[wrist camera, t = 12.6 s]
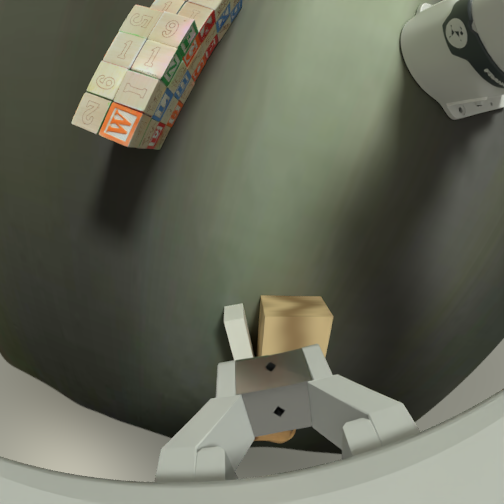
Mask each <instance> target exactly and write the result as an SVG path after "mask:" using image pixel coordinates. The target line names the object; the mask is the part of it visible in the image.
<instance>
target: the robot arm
mask: <svg viewBox="0 0 504 504" xmlns="http://www.w3.org/2000/svg"><path fill="white" fill-rule="evenodd" d="M401 49H402V54H403V57H404V60H405V63H406V65H407V67H408V69H409V71H410V73H411V75H412V76H413V78H414V79H415V80H416V82H417V83H418V84H419V86H420V87H421V88H422V89H423V90H424V91H425V92H426V93H427V94H429V95H430V96H431V97H432V98H434V99H435V100H436V101H437V102H439V103H440V105H441V106H442V108H443V109H444V111H445V112H446V114H447V115H448V116H449V117H450V118H451V119H452V120H457V119H461V118H464V117H468V116H472V115H475V114H479V113H483V112H487V111H491V110H495V109H499V108H503V107H504V0H443V1H441V2H439V3H437V4H435V5H433V6H432V5H430V4H427V3H423V4H421V5H419V7H418V9H417V12H416V15H415V16H414V17H413V18H411V19H410V20H409V21H407V23H406V24H405V25H404V27H403V29H402V33H401ZM459 110H460V112H459ZM310 426H312V427H313V428H314V429H315V430H317V431H318V432H319V433H320V434H322V435H323V436H324V437H326V438H327V439H328V440H330V441H331V442H332V443H333V444H335V445H336V446H337V447H339V448H340V449H341V450H342V460H338V461H334V462H330V463H327V464H322V465H318V466H314V467H310V468H305V469H301V470H295V471H290V472H284V473H279V474H273V475H266V476H260V477H252V478H244V479H238V477H237V475H236V473H235V470H236V469H237V467H238V466H239V464H240V462H241V461H242V459H243V457H244V456H245V454H246V452H247V451H248V449H249V447H250V446H251V444H252V442H253V441H254V439H255V438H254V437H258V436H263V435H269V434H274V433H278V432H283V431H289V430H295V429H300V428H305V427H310ZM0 504H504V389H502V390H501V391H499V392H498V393H496V394H495V395H493V396H491V397H489V398H488V399H486V400H484V401H482V402H481V403H479V404H477V405H475V406H473V407H472V408H470V409H468V410H466V411H464V412H462V413H460V414H458V415H457V416H454V417H453V418H451V419H448V420H446V421H444V422H442V423H440V424H438V425H436V426H433V427H431V428H429V429H427V430H424V431H422V432H420V431H419V429H418V427H417V426H416V424H415V422H414V421H413V419H412V417H411V416H410V414H409V413H408V411H407V409H406V408H405V406H404V405H403V403H401V402H399V401H396V400H394V399H391V398H389V397H387V396H385V395H382V394H380V393H378V392H375V391H373V390H371V389H369V388H366V387H364V386H362V385H360V384H357V383H355V382H353V381H351V380H349V379H347V378H344V377H342V376H340V375H338V374H337V375H332V372H331V370H330V368H329V366H328V364H327V361H326V359H325V357H324V355H323V352H322V350H321V348H320V346H319V345H318V344H314V345H310V346H306V347H302V348H300V349H295V350H291V351H286V352H282V353H277V354H272V355H265V356H259V357H253V358H246V359H240V360H236V361H235V360H233V361H227V362H220V363H219V364H218V366H217V383H216V398H212V399H210V400H209V401H208V402H207V403H206V404H205V405H204V406H203V407H202V408H201V409H200V410H199V411H198V412H197V413H196V414H195V416H194V417H193V418H192V419H191V420H190V421H189V422H188V423H187V424H186V425H185V426H184V427H183V428H182V429H181V430H180V431H179V432H178V433H177V434H176V435H175V436H174V437H173V438H172V439H171V440H170V441H168V442H167V443H166V445H164V446H163V448H161V452H160V457H159V462H158V467H157V472H156V478H155V482H136V481H121V480H111V479H102V478H94V477H87V476H80V475H74V474H69V473H63V472H58V471H53V470H48V469H44V468H40V467H36V466H32V465H28V464H24V463H20V462H17V461H13V460H10V459H7V458H3V457H0Z"/></svg>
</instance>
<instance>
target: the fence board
mask: <svg viewBox="0 0 504 504" xmlns="http://www.w3.org/2000/svg"><path fill="white" fill-rule="evenodd" d="M224 324H225V328H226V332H227V336H228V340H229V343H230V347H231V351H232V354H233V358H234V360H235V361H236V360H240V359H246V358H253V357H255V355H254V351H253V347H252V342H251V338H250V333H249V329H248V325H247V320H246V316H245V311H244V307H243V303H241V304H236V305H231V306H225V307H224Z"/></svg>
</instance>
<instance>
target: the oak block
mask: <svg viewBox="0 0 504 504" xmlns="http://www.w3.org/2000/svg"><path fill="white" fill-rule="evenodd" d="M332 321H333V315H332V314H331V312H330V310H329V309H328V307H327V306H326V304H325V302H324V301H323V299H322V297H321V296H262V295H261V300H260V313H259V326H258V339H257V352H256V357H259V356H265V355H272V354H277V353H282V352H286V351H291V350H295V349H300V348H302V347H306V346H310V345H314V344H318V345H319V346H320V348H321V350H322V352H323V355H324V357H325V356H326V352H327V347H328V342H329V337H330V332H331V327H332Z"/></svg>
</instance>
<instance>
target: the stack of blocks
mask: <svg viewBox="0 0 504 504" xmlns="http://www.w3.org/2000/svg"><path fill="white" fill-rule="evenodd" d="M241 8H242V0H155V1H154V2H153V4H152V5H151V7H150V8H148V7H144V6H140V5H135V6H134V7H133V9H132V10H131V12H130V13H129V15H128V17H127V18H126V20H125V21H124V23H123V24H122V26H121V28H120V29H119V32H118V34H117V35H116V37H115V39H114V40H113V42H112V44H111V46H110V48H109V49H108V51H107V53H106V54H105V56H104V59H103V60H102V61H101V63H100V64H99V66H98V68H97V70H96V72H95V74H94V76H93V78H92V80H91V82H90V84H89V86H88V88H87V92H86V93H85V94H84V95H83V97H82V99H81V102H80V104H79V106H78V108H77V110H76V113H75V115H74V117H73V120H72V124H73V125H76V126H78V127H81V128H83V129H85V130H88V131H90V132H92V133H95V134H99V135H100V136H102V137H105V138H107V139H109V140H112V141H114V142H116V143H119V144H121V145H123V146H126V147H135V148H139V149H156V150H160V149H161V147H162V144H163V142H164V140H165V138H166V136H167V134H168V132H169V130H170V128H171V127H172V126H173V124H174V122H175V120H176V118H177V116H178V114H179V112H180V110H181V108H182V107H183V104H184V103H185V101H186V99H187V97H188V96H189V94H190V92H191V90H192V88H193V86H194V85H195V81H196V79H197V78H198V76H199V74H200V72H201V71H202V69H203V67H204V65H205V64H206V61H207V59H208V58H209V56H210V55H211V53H212V51H213V49H214V48H215V46H216V45H217V43H218V42H219V41H220V40H221V38H222V37H223V35H224V34H225V32H226V31H227V29H228V28H229V26H230V25H231V23H232V21H233V20H234V18H235V17H236V15H237V14H238V12H239V11H240V9H241Z"/></svg>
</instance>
